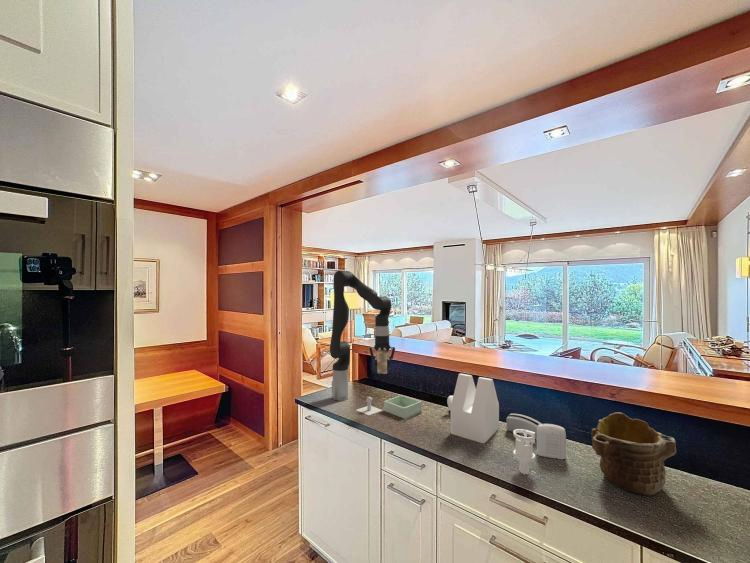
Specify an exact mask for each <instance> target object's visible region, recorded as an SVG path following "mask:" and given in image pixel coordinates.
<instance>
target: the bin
mask: <svg viewBox="0 0 750 563" xmlns="http://www.w3.org/2000/svg"><path fill="white" fill-rule="evenodd" d="M422 407H423V402H422V400H419V399H416V398H411V397H410V396H406V395H403V394H401V395H397V396H395V397H392V398H389V399H386V400H383V411H384V412H386V413H389V414H391V415H394V416H397V417H399V418H401V420H402V421H406V420H409V419H412V418H413V417H416V416H418V415H420V414H422V413H423V411H422V410H423V409H422Z"/></svg>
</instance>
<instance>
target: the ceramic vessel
mask: <svg viewBox="0 0 750 563" xmlns="http://www.w3.org/2000/svg"><path fill="white" fill-rule="evenodd" d="M597 422H598V423H597V426H596V428H591V440H592V441H591V449H593V450H594V452H595V454H596V455H597V456H600V459H599V468H600V470H601V473H602V474H604V476H605V477H606V478H607V480H608V481H610V483H611V484H613V485H614V486H616V487H618V488H621V489H622V490H625V491H628V492H630V493H637V494H641V495H643V496H654V495H656V494H657V493H659V492H661V491H662V489H663V488H664V486H665V485H666V467H665V463H664V461H666V460H667V459H668V458H671V457H673V456H675V455H676V453H677V447H676V446H677V445H676V443H677V442H676V439H675V438H674V437H672V436H667V435H665V434H662V433H661V432H658V431H656V430H655V429H654V428H652V427H650V425H649V423H648V422H647V421H644V420H642V419H639V418H634V419H633V418H630V417H629V416H628V415H626V414H625V413H623V412H620V411H619V412H618V411H617V412H613V413H610V414H609V415H607V416H605V417H603V418H602V419H601V418H600V419H599V420H598V421H597Z"/></svg>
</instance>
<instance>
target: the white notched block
mask: <svg viewBox="0 0 750 563" xmlns="http://www.w3.org/2000/svg"><path fill="white" fill-rule="evenodd" d="M499 429H500V403H499V400H498V395H497V391H496V387H495V383H494V379H493V378H488V377H481V376H479V377H478V378H477V384H476V385H475V381H474V378H473V375H471V374H466V373H461V372H460V373H458V376H457V379H456V384H455V388H454V392H453V400H452V404H451V411H450V434H451V435H453V436H456V437H457V436H458V437H461V438H464V439H468V440H470V441H474V442H478V443H481V444H485V443H487V442H488V441H489V439H490V438H491V437H492V436H493V435H494V434H495V433H496V432H497V431H498V430H499Z"/></svg>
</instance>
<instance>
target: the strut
mask: <svg viewBox="0 0 750 563" xmlns="http://www.w3.org/2000/svg"><path fill="white" fill-rule="evenodd" d="M376 354H377V367H376V368H377V370H376V371H377V374H378V375H381V374H383V375H385V374H388V367H387V350H377V351H376Z"/></svg>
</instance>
